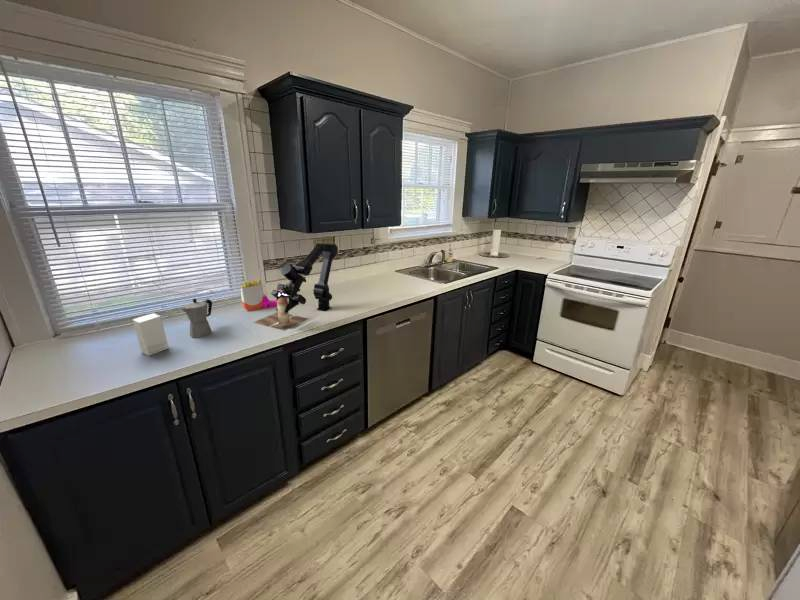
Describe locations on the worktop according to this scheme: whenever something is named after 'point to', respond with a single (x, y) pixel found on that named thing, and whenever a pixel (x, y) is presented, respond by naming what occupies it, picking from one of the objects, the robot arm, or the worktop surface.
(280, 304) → the wooden pin
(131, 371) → the worktop surface
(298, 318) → the walnut board
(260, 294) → the french fries container
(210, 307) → the coffeepot
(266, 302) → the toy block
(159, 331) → the skincare box
